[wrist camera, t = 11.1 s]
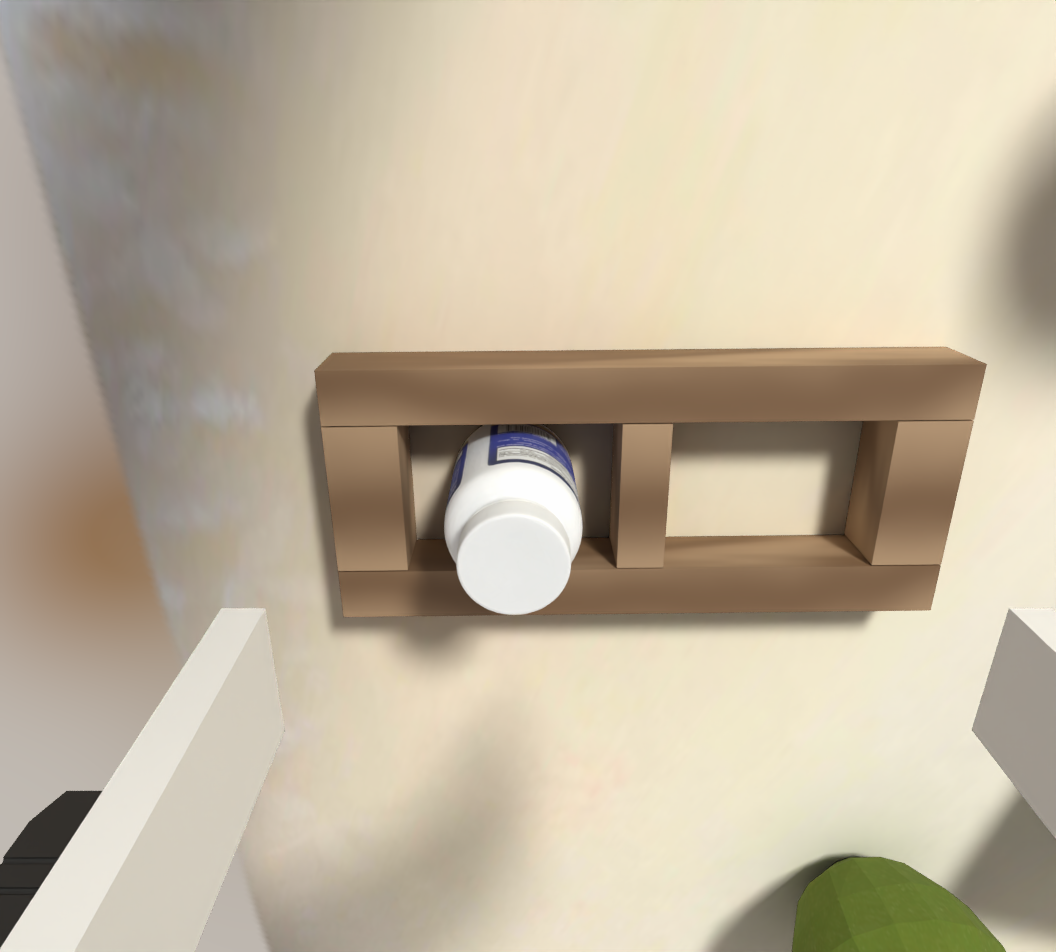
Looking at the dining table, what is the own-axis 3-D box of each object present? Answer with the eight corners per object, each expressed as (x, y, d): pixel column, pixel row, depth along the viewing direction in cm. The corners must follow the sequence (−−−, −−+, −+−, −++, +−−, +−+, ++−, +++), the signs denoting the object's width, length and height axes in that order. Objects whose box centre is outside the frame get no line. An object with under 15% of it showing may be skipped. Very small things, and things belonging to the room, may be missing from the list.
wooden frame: (332, 352, 32) (314, 370, 29) (946, 346, 32) (986, 364, 29) (357, 582, 36) (343, 617, 33) (899, 576, 36) (930, 610, 34)
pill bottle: (505, 543, 35) (500, 658, 27) (431, 462, 34) (402, 557, 26) (596, 478, 34) (620, 577, 26) (524, 390, 33) (525, 467, 24)
